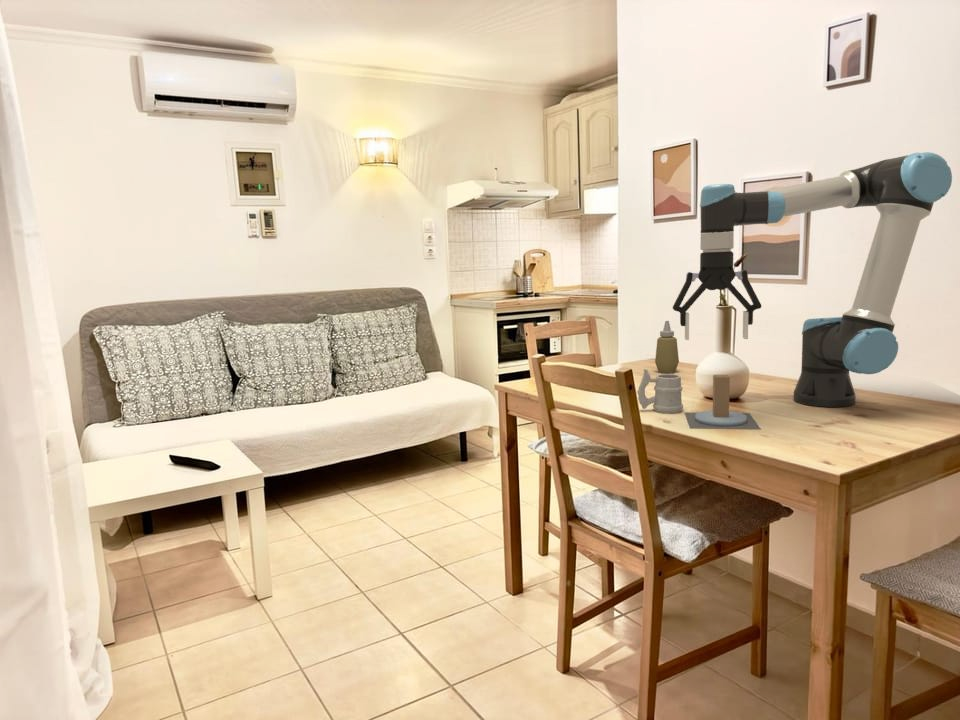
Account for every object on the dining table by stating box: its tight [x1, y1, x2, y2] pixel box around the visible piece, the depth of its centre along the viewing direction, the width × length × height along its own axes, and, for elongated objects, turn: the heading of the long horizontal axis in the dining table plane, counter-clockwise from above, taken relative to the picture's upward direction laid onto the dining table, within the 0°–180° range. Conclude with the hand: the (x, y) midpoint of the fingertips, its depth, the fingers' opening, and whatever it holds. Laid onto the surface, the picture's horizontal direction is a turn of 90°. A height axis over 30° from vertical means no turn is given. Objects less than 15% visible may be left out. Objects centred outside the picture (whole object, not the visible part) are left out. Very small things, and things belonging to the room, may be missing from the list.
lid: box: [695, 374, 747, 427], centre depth 166 cm, size 12×12×11 cm
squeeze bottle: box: [654, 320, 680, 374], centre depth 235 cm, size 8×8×18 cm
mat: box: [684, 411, 762, 431], centre depth 167 cm, size 16×16×1 cm
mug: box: [637, 368, 684, 415], centre depth 179 cm, size 8×12×12 cm, turn 86°
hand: (715, 339), depth 165 cm, fingers open, 13 cm apart
